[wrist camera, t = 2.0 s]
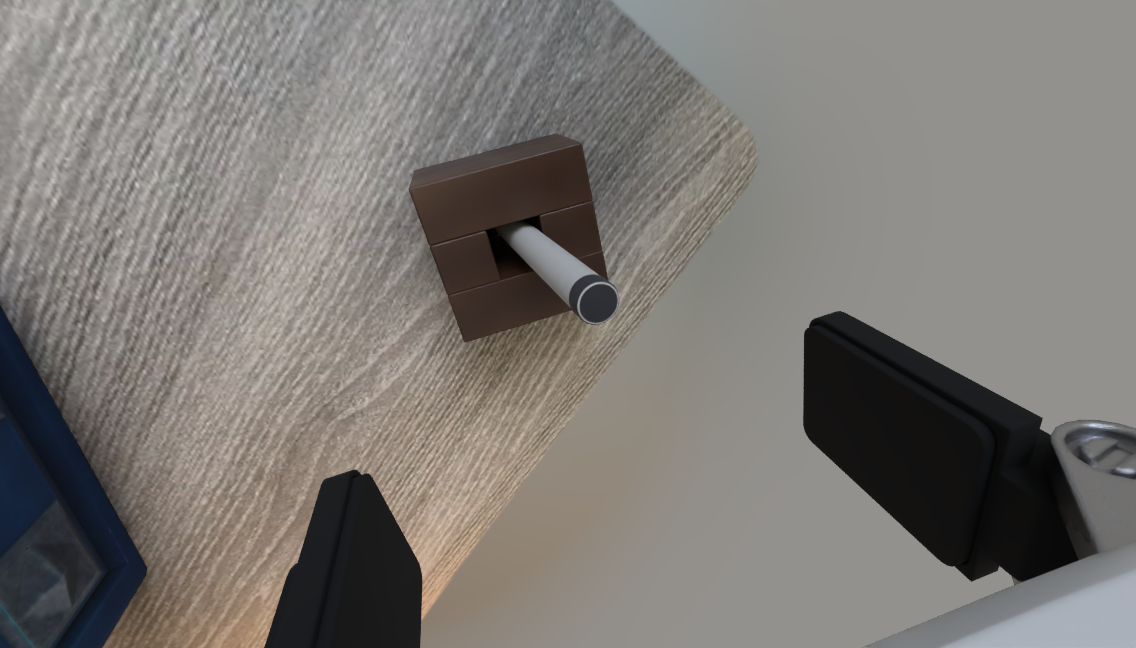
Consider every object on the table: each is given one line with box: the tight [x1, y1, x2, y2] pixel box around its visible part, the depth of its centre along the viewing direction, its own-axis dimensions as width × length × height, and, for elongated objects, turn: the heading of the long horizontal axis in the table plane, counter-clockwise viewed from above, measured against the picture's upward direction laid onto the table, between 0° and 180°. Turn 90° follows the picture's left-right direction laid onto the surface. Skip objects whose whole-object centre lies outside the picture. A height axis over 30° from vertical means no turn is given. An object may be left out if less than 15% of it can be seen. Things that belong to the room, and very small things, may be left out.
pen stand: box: [409, 134, 608, 342], centre depth 24 cm, size 7×7×5 cm
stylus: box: [494, 220, 619, 325], centre depth 21 cm, size 1×1×13 cm
